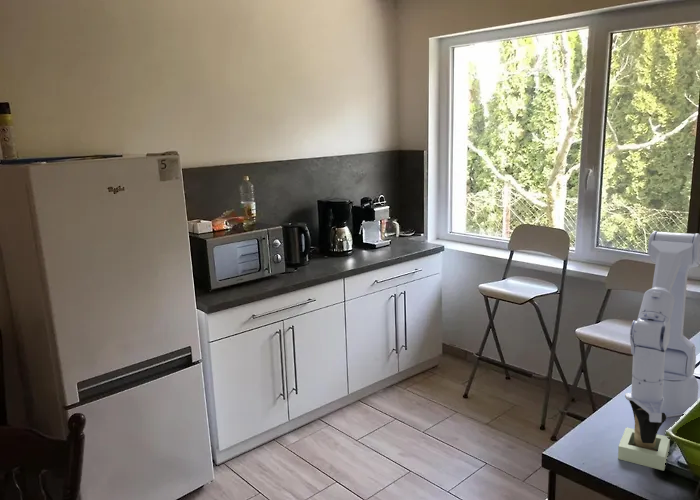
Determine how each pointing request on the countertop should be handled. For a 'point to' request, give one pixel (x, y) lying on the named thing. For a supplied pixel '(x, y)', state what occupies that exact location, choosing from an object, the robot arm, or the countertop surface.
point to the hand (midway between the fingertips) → (644, 436)
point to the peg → (638, 438)
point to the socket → (644, 451)
